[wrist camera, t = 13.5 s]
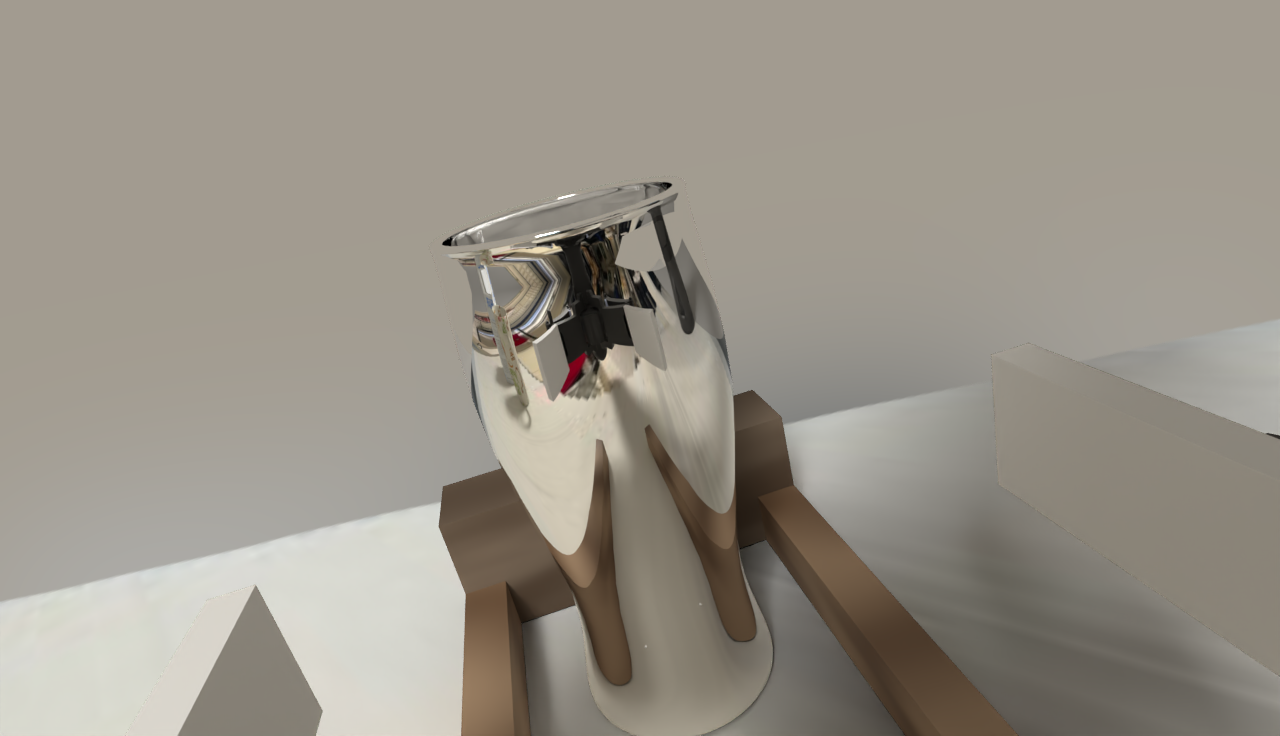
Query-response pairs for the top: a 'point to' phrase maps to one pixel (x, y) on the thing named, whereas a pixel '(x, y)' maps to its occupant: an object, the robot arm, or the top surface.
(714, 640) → the metal tumbler
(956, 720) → the brown u-shaped block
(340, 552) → the top surface
